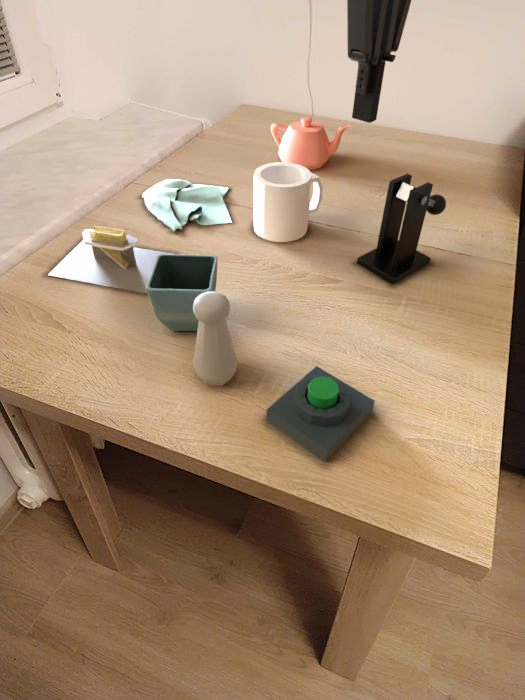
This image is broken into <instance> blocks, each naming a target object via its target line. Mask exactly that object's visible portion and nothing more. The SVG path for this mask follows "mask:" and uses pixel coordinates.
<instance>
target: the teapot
mask: <svg viewBox="0 0 525 700" xmlns="http://www.w3.org/2000/svg"><path fill="white" fill-rule="evenodd" d="M350 127H351V124H345V125H341V126H339V127H338V128H337V131H336V133H335V136H334V139H332V141H330V139H329V136H328V134H327V131H326V130H325V129H326V128H324V125H323V123H321V122H319V121H316V120H313V119H312V117H307V116H305V117H302V118H301V119H299V120H295V121H293V122H291V123H290V124H289V126H286V125H283V124H281V123H278V122H277V123H276V122H275V123H272V124H271V125H270V131H271V132H270V133H271V135H272V137H273V139H274V141H275V143H276V145H277V146H278V156H279V159H280V160H281V162H288V163H295V164H299V165H301V166H304V167H306V168H307V169H308V170H309V171H313V170H318V169H320V168H321V167H323V166H324V165H325V164H326V163H327V162H328V161H329V159H330V157H331V155H333V154H335V153H336V152H337V150H338V149H339V146H340V143H341V139H342V136H343V133H344V132H345V131H346V130H347V129H348V128H350ZM279 130H282V131H285V132H284V134H283V136H282V138H281V139H280V136H279V132H278V131H279Z"/></svg>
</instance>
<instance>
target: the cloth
mask: <svg viewBox="0 0 525 700" xmlns="http://www.w3.org/2000/svg"><path fill="white" fill-rule="evenodd" d="M229 189H230V187H226V186H220V185H219V186H218V185H211V184H210V185H208V184H201V183H192V182H191V181H190V180H189V181H188V180H184V179H180V178H179V179H175V178H167V179H165V180H163V181H160V182H158V183H156V184H154V185H152V186H150V187H149V188H148V189H146V190H145V191H144V192H143V193H142V195H141V198H144V204H145V206H146V208H147V210H148V211H149V212H150V213H151V215H153V216H154V217H155V218H156V219H157V220H158V221H160V222H161V223H162V224H163V225H165V226H166V227H168V228H169V229H170V230H172V231H173V232H176V231H178V230H183V227H184V226H185V225H187V223H188V220H189V221H190V222H194V223H195V224H197V225H200V226H215V225H216V226H217V225H225V224H226V225H227V224H233V221H232V218H231V215H230V213H229V211H228V208H227V206H226V203H225V201H224V196H225V195H226V194H227V192H228V191H229Z"/></svg>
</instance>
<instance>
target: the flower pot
mask: <svg viewBox="0 0 525 700" xmlns="http://www.w3.org/2000/svg"><path fill="white" fill-rule="evenodd" d="M174 254H175V253H172V254H159V255H158V256H157V258H156V261H155V264H154V267H153V270H152V272H151V275H150V278H149V281H148V283H147V286H146V290H147V293H146V294H147V295H148V298H149V301H150V304H151V307H152V310H153V312H154V314H155V317H156V319H158V321H159V322H160V323H161V324H162V325H163V326H164V327H165V328H167V329H168V330H170V331H177V332H178V331H180V332H181V331H183V332H197V330H198V322H199V320H198V319H197V318H196V316H195V314H194V311H193V304H194V300H195V299H196V298H197V297H198V296H199V295H200V294H202V293H205V292H209V291H215V292H216V290H217V279H218V261H219V260H218V259H219V258H218V257H219V256H217V255H210V254H207V255H206V254H175V255H174Z"/></svg>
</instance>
